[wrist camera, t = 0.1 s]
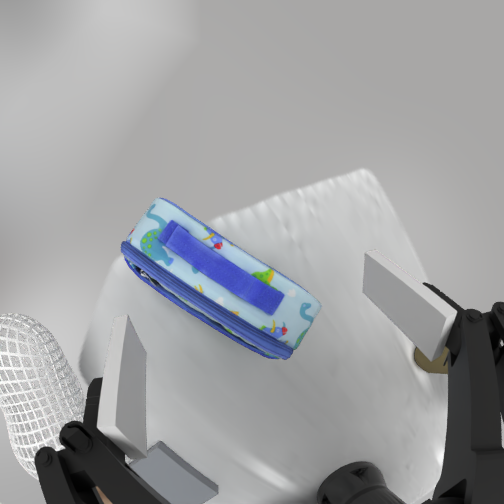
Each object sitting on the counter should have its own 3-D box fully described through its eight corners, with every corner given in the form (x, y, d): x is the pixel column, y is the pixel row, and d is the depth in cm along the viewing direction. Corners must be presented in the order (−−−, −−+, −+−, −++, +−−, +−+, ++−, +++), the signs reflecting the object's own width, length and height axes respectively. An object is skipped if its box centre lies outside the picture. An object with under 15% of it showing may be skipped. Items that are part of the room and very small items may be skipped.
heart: (137, 441, 43) (99, 504, 21) (76, 450, 40) (25, 499, 18) (82, 304, 46) (10, 298, 25) (26, 324, 44) (-48, 325, 22)
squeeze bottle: (415, 377, 51) (472, 391, 33) (405, 347, 52) (465, 354, 34) (439, 357, 53) (496, 364, 35) (430, 328, 54) (489, 328, 36)
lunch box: (141, 272, 49) (95, 249, 29) (174, 223, 51) (150, 172, 31) (265, 353, 49) (296, 381, 29) (296, 301, 51) (345, 296, 31)
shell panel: (218, 484, 43) (218, 494, 39) (178, 509, 40) (177, 518, 37) (161, 439, 44) (157, 447, 40) (123, 466, 41) (118, 475, 38)
